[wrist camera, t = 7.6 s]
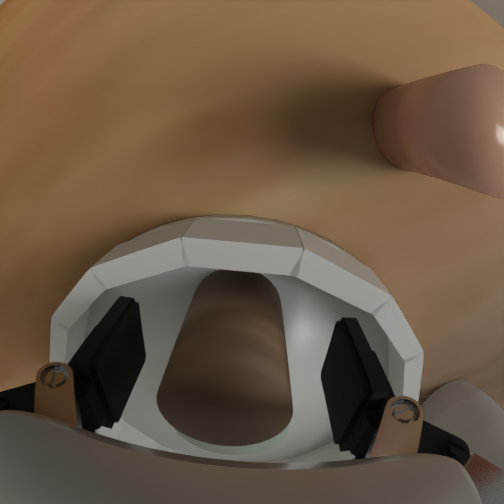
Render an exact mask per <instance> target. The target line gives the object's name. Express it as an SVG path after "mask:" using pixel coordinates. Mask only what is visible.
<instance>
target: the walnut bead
mask: <svg viewBox="0 0 504 504" xmlns="http://www.w3.org/2000/svg"><path fill="white" fill-rule="evenodd" d="M156 400H157V406H158V409H159V411H160V413H161V414H162V416H163V417H164V419H165V420H166V421H167V422H168V423H169V424H170V425H171V426H173V427H174V428H175V429H177V430H178V431H179V432H181V433H183V434H185V435H186V436H189V437H191V438H193V439H196V440H198V441H201V442H205V443H209V444H213V445H220V446H247V445H253V444H257V443H261V442H264V441H267V440H269V439H271V438H273V437H275V436H277V435H278V434H279V433H281V432H282V431H283V430H284V429H285V428H286V427H287V426H288V424H289V423H290V421H291V419H292V416H293V402H292V393H291V383H290V374H289V365H288V356H287V347H286V339H285V330H284V322H283V314H282V305H281V299H280V296H279V293H278V291H277V289H276V287H275V286H274V285H273V284H272V282H271V281H270V280H269V279H267V278H266V277H265V276H263V275H262V274H260V273H255V272H244V271H233V270H223V269H220V270H217V271H215V272H213V273H211V274H209V275H208V276H206V277H205V278H204V279H203V280H202V281H201V282H200V284H199V285H198V287H197V288H196V291H195V293H194V296H193V298H192V301H191V303H190V306H189V308H188V311H187V314H186V316H185V319H184V321H183V324H182V327H181V329H180V332H179V334H178V337H177V340H176V342H175V345H174V348H173V350H172V353H171V356H170V358H169V361H168V364H167V367H166V369H165V372H164V375H163V378H162V380H161V383H160V386H159V389H158V392H157V397H156Z"/></svg>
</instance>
